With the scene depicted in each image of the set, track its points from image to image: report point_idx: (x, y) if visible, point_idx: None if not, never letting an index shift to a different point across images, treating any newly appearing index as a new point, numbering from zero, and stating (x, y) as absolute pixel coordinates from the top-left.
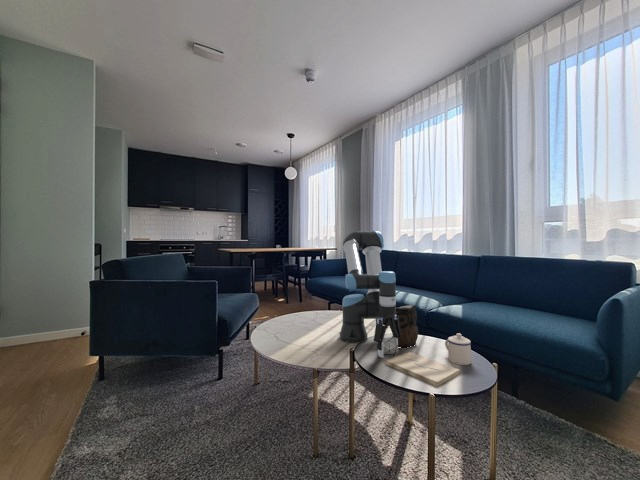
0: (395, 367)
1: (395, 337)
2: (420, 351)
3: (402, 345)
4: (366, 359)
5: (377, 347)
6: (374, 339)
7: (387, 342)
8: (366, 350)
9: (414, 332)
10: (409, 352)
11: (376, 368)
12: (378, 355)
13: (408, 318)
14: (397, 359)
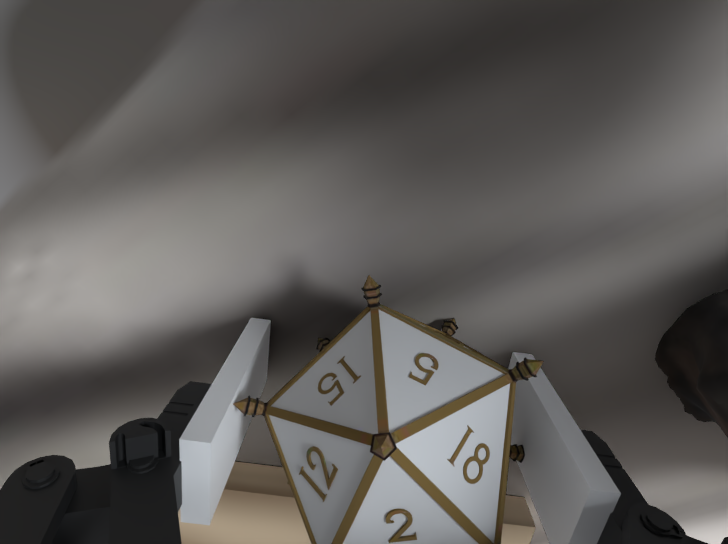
0: None
1: (599, 537)
2: (690, 532)
3: (706, 407)
4: (82, 265)
5: (170, 401)
6: (3, 501)
7: (307, 525)
8: (304, 85)
9: None
10: (517, 540)
11: (24, 439)
12: (249, 326)
13: None
14: (264, 534)
